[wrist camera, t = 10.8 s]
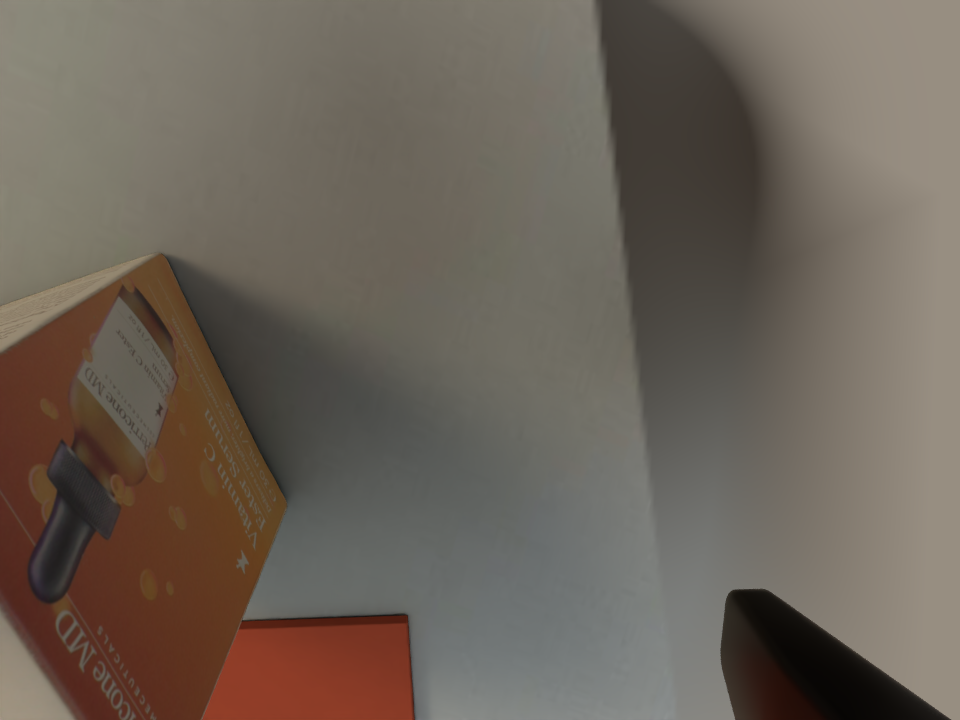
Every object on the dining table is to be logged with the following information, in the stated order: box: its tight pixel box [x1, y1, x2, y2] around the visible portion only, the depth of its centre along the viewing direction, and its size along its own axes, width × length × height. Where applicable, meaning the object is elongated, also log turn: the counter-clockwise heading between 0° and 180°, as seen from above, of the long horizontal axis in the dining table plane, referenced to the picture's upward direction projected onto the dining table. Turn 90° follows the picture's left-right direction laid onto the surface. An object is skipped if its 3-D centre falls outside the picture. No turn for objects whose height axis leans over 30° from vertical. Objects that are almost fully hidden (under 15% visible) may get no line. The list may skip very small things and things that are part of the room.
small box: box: [0, 253, 287, 720], centre depth 17 cm, size 8×6×10 cm
